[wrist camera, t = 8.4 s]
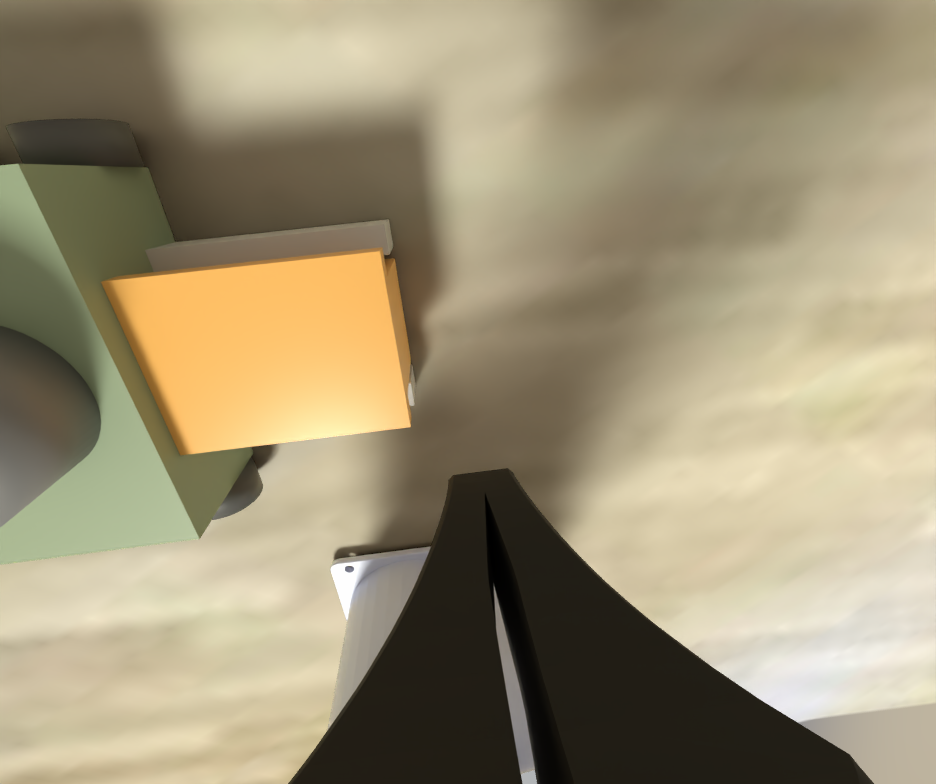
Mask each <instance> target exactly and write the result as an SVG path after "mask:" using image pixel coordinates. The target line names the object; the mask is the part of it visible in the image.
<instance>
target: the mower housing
mask: <svg viewBox="0 0 936 784" xmlns="http://www.w3.org/2000/svg"><path fill="white" fill-rule="evenodd" d="M6 129H7V131H8V133H9V135H10V137H11V139H12V141H13V143H14V145H15V148H16V150H17V152H18V154H19V156H20V158H21V160H22V162H23V164H10V165H0V565H2V564H10V563H18V562H26V561H33V560H41V559H49V558H57V557H64V556H72V555H80V554H87V553H95V552H103V551H111V550H118V549H126V548H134V547H142V546H149V545H157V544H165V543H173V542H180V541H188V540H196V539H200V538H201V536H202V534H203V533H204V531H205V530H206V528H207V526H208V525H209V523H210V522H211V520H215V519H220V518H224V517H227V516H230V515H232V514H235V513H237V512H239V511H241V510H242V509H244V508H246V507H247V506H249V505H250V504H251V503H252V502H254V501H255V500H256V499H257V498H258V496H259V495H260V493H261V492H262V489H263V484H262V481H261V478H260V475H259V473H258V470H257V467H256V465H255V462H254V460H253V459H252V458H251V456H252V455H253V451H252V448H251V447H245V448H236V449H228V450H220V451H212V452H204V453H196V454H188V455H180V453H179V451H178V449H177V447H176V445H175V443H174V440H173V438H172V436H171V434H170V432H169V429H168V427H167V425H166V423H165V421H164V419H163V416H162V414H161V412H160V410H159V408H158V405H157V403H156V401H155V399H154V397H153V395H152V392H151V390H150V388H149V386H148V384H147V381H146V379H145V377H144V375H143V373H142V371H141V368H140V366H139V364H138V362H137V360H136V357H135V355H134V353H133V351H132V349H131V347H130V344H129V342H128V340H127V338H126V336H125V333H124V331H123V329H122V327H121V325H120V323H119V320H118V318H117V316H116V314H115V312H114V309H113V307H112V305H111V303H110V301H109V299H108V296H107V294H106V292H105V290H104V288H103V285H102V283H101V282H102V281H105V280H108V279H111V278H114V277H117V276H124V275H133V274H142V273H151V272H160V271H169V270H179V269H188V268H197V267H206V266H215V265H224V264H233V263H243V262H252V261H261V260H270V259H279V258H288V257H298V256H307V255H316V254H325V253H334V252H343V251H352V250H362V249H371V248H380V247H382V248H383V254H384V255H389V254H390V252H391V250H392V248H393V241H392V235H391V229H390V223H389V219H386V220H377V221H367V222H358V223H349V224H339V225H330V226H321V227H311V228H302V229H293V230H283V231H274V232H265V233H255V234H246V235H237V236H227V237H218V238H209V239H199V240H190V241H181V242H175V239H174V237H173V234H172V231H171V229H170V226H169V223H168V220H167V218H166V215H165V212H164V210H163V207H162V204H161V201H160V199H159V196H158V193H157V191H156V188H155V185H154V183H153V180H152V177H151V174H150V172H149V169H148V167H144V164H143V161H142V158H141V156H140V153H139V150H138V148H137V145H136V142H135V140H134V137H133V134H132V132H131V129H130V126H129V124H128V123H125V122H121V121H114V120H101V119H53V120H37V121H27V122H20V123H14V124H10V125H7V126H6ZM415 388H416V384H415V378H414V371H413V365H412V364H411V365H410V374H409V385H408V399H409V405H410V406H413V405H415Z"/></svg>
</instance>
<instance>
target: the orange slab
mask: <svg viewBox="0 0 936 784" xmlns="http://www.w3.org/2000/svg"><path fill="white" fill-rule="evenodd" d="M101 283H102V285H103V288H104V290H105V292H106V294H107V296H108V299H109V301H110V303H111V305H112V307H113V309H114V312H115V314H116V316H117V318H118V320H119V323H120V325H121V327H122V329H123V331H124V333H125V336H126V338H127V340H128V342H129V344H130V347H131V349H132V351H133V353H134V355H135V357H136V360H137V362H138V364H139V366H140V368H141V371H142V373H143V375H144V377H145V379H146V381H147V384H148V386H149V388H150V390H151V392H152V395H153V397H154V399H155V401H156V403H157V405H158V408H159V410H160V412H161V414H162V416H163V419H164V421H165V423H166V425H167V427H168V429H169V432H170V434H171V436H172V438H173V440H174V443H175V445H176V447H177V449H178V451H179V453H180V455H188V454H196V453H204V452H212V451H220V450H228V449H236V448H245V447H253V446H261V445H269V444H277V443H285V442H293V441H302V440H310V439H318V438H326V437H334V436H342V435H350V434H359V433H367V432H375V431H383V430H391V429H399V428H407V427H411V411H410V405H409V399H408V385H409V374H410V363H411V356H410V350H409V344H408V338H407V331H406V325H405V319H404V313H403V307H402V301H401V294H400V288H399V282H398V276H397V270H396V263H395V258H392V259H384V254H383V248H382V247H380V248H371V249H362V250H352V251H343V252H334V253H325V254H316V255H307V256H298V257H288V258H279V259H270V260H261V261H252V262H243V263H233V264H224V265H215V266H206V267H197V268H188V269H179V270H169V271H160V272H151V273H142V274H133V275H124V276H117V277H114V278H111V279H108V280H105V281H102V282H101Z"/></svg>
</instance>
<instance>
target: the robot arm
mask: <svg viewBox="0 0 936 784" xmlns="http://www.w3.org/2000/svg"><path fill="white" fill-rule="evenodd" d="M348 565H349V566H352V567H349V566H348ZM331 573H332V576H333V580H334V583H335V586H336V589H337V592H338V595H339V598H340V601H341V604H342V608H343V611H344V614H345V617H346V620H347V625H346V630H345V636H344V642H343V647H342V653H341V658H340V664H339V669H338V675H337V681H336V686H335V692H334V697H333V703H332V708H331V714H330V720H329V725H328V731H327V732H326V734H325V735H324V736H323V738H322V739H321V741H320V742H319V744H318V745H317V746H316V748H315V749H314V751H313V752H312V753H311V755H310V756H309V757H308V759H307V760H306V761H305V763H304V764H303V765H302V767H301V768H300V769H299V771H298V772H297V773H296V774H295V776H294V777H293V778H292V779H291V781H290V782H289V783H288V784H522V779H521V774H522V773H525V772H529V771H532V770H535V773H536V779H537V784H874V783H873V782H872V781H871V780H870V778H869V777H868V776H867V775H866V774H865V773H864V771H863V770H862V769H861V768H860V767H859V766H858V765H857V763H856V762H855V761H854V759H853V758H852V757H851V756H850V755H849V754H848V753H846V752H845V751H843V750H841V749H840V748H838V747H836V746H835V745H833V744H832V743H830V742H828V741H827V740H825V739H823V738H821V737H820V736H818V735H817V734H815V733H813V732H812V731H810V730H809V729H807V728H805V727H804V726H802V725H800V724H799V723H797V722H796V721H794V720H792V719H791V718H789V717H787V716H786V715H784V714H782V713H781V712H779V711H778V710H776V709H774V708H773V707H771V706H769V705H768V704H766V703H765V702H763V701H761V700H760V699H758V698H757V697H755V696H754V695H752V694H751V693H749V692H748V691H746V690H745V689H744V688H742V687H741V686H739V685H738V684H736V683H735V682H733V681H732V680H730V679H729V678H727V677H726V676H724V675H723V674H722V673H720V672H719V671H717V670H716V669H714V668H713V667H711V666H710V665H709V664H707V663H706V662H705V661H703V660H702V659H701V658H699V657H698V656H697V655H695V654H694V653H693V652H691V651H690V650H689V649H687V648H686V647H685V646H683V645H682V644H681V643H679V642H678V641H677V640H675V639H674V638H673V637H671V636H670V635H669V634H667V633H666V632H665V631H663V630H662V629H661V628H659V627H658V626H657V625H655V624H654V623H653V622H652V621H650V620H649V619H648V618H647V617H646V616H644V615H643V614H642V613H641V612H640V611H638V610H637V609H636V608H635V607H634V606H632V605H631V604H630V603H629V602H628V601H626V600H625V599H624V598H623V597H622V596H621V595H620V594H619V593H618V592H616V591H615V590H614V589H613V588H612V587H611V586H610V585H609V584H607V583H606V582H605V581H604V580H603V579H602V578H601V577H600V576H599V575H598V574H597V573H596V572H595V571H594V570H593V569H592V568H591V567H590V566H589V565H588V564H587V563H586V562H585V561H584V560H583V559H582V558H581V557H580V556H579V555H578V554H577V553H576V552H575V551H574V550H573V549H572V548H571V547H570V546H569V545H568V543H567V542H566V541H565V540H564V539H563V538H562V537H561V536H560V535H559V533H558V532H557V531H556V530H555V529H554V528H553V526H552V525H551V524H550V523H549V522H548V520H547V519H546V518H545V517H544V516H543V515H542V513H541V512H540V511H539V510H538V508H537V507H536V506H535V504H534V503H533V502H532V500H531V499H530V498H529V496H528V495H527V494H526V492H525V491H524V489H523V488H522V487H521V485H520V484H519V482H518V480H517V479H516V477H515V476H514V474H513V472H512V471H510V470H509V469H508V468H507V469H499V470H491V471H483V472H475V473H467V474H459V475H453V476H452V477H451V478H450V479H449V483H448V491H447V497H446V501H445V505H444V509H443V512H442V516H441V519H440V522H439V525H438V528H437V531H436V534H435V537H434V540H433V542H432V545H431V546H430V547H422V548H415V549H407V550H400V551H392V552H384V553H377V554H369V555H362V556H354V557H346V558H339V559H336V560H334V561H333V562H332V564H331Z"/></svg>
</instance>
